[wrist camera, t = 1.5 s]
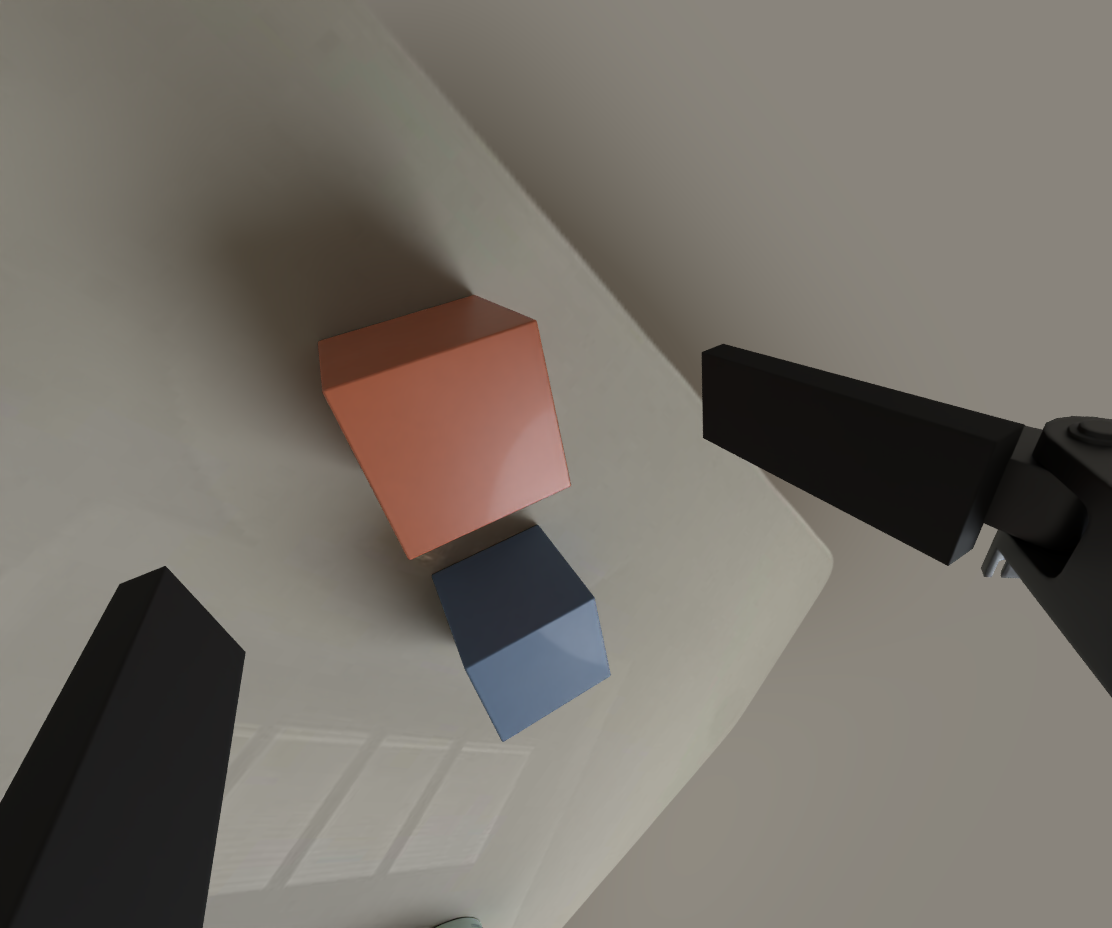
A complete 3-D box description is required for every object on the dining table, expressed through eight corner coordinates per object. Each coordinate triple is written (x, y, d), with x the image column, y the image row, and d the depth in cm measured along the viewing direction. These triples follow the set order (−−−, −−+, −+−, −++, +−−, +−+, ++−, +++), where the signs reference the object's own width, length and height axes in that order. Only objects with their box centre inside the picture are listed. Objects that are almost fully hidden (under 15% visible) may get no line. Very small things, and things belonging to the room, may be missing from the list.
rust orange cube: (317, 341, 14) (320, 390, 10) (474, 294, 16) (537, 319, 12) (383, 477, 17) (409, 561, 13) (511, 426, 19) (572, 486, 15)
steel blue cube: (430, 574, 20) (464, 669, 16) (537, 523, 22) (595, 597, 18) (466, 646, 23) (502, 743, 19) (558, 597, 25) (611, 676, 21)
